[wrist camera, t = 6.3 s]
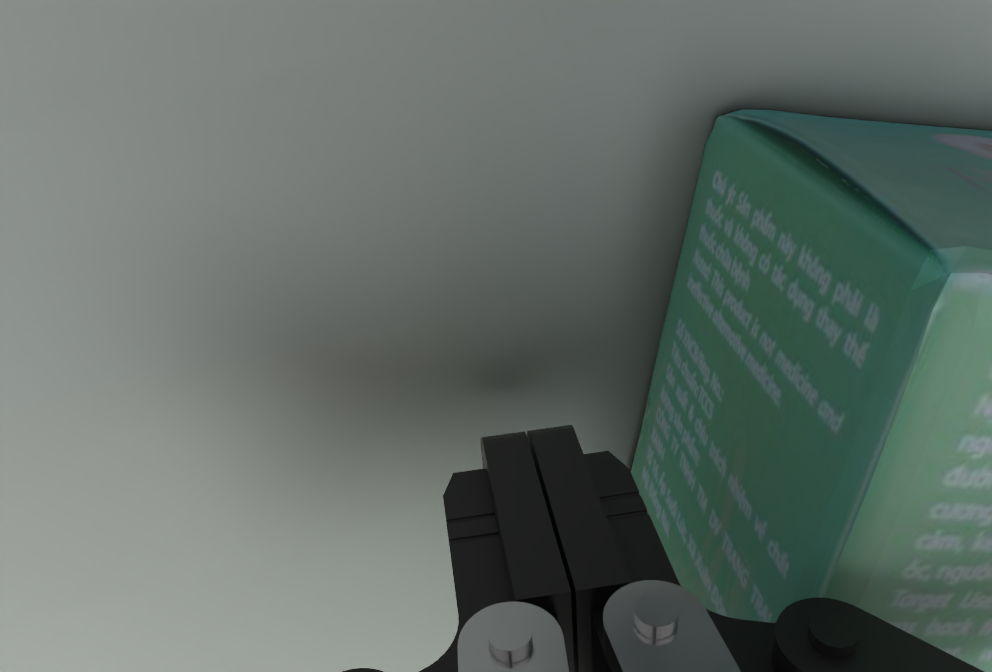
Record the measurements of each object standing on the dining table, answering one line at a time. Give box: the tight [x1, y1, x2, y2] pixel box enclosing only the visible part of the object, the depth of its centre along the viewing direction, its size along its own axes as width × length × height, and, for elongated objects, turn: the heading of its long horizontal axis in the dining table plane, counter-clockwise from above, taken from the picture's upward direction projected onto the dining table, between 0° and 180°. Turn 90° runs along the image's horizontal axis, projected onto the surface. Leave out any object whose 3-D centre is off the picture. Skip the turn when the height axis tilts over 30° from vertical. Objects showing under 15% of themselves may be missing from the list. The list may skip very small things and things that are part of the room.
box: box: [631, 110, 992, 672], centre depth 15 cm, size 7×14×8 cm, turn 173°
